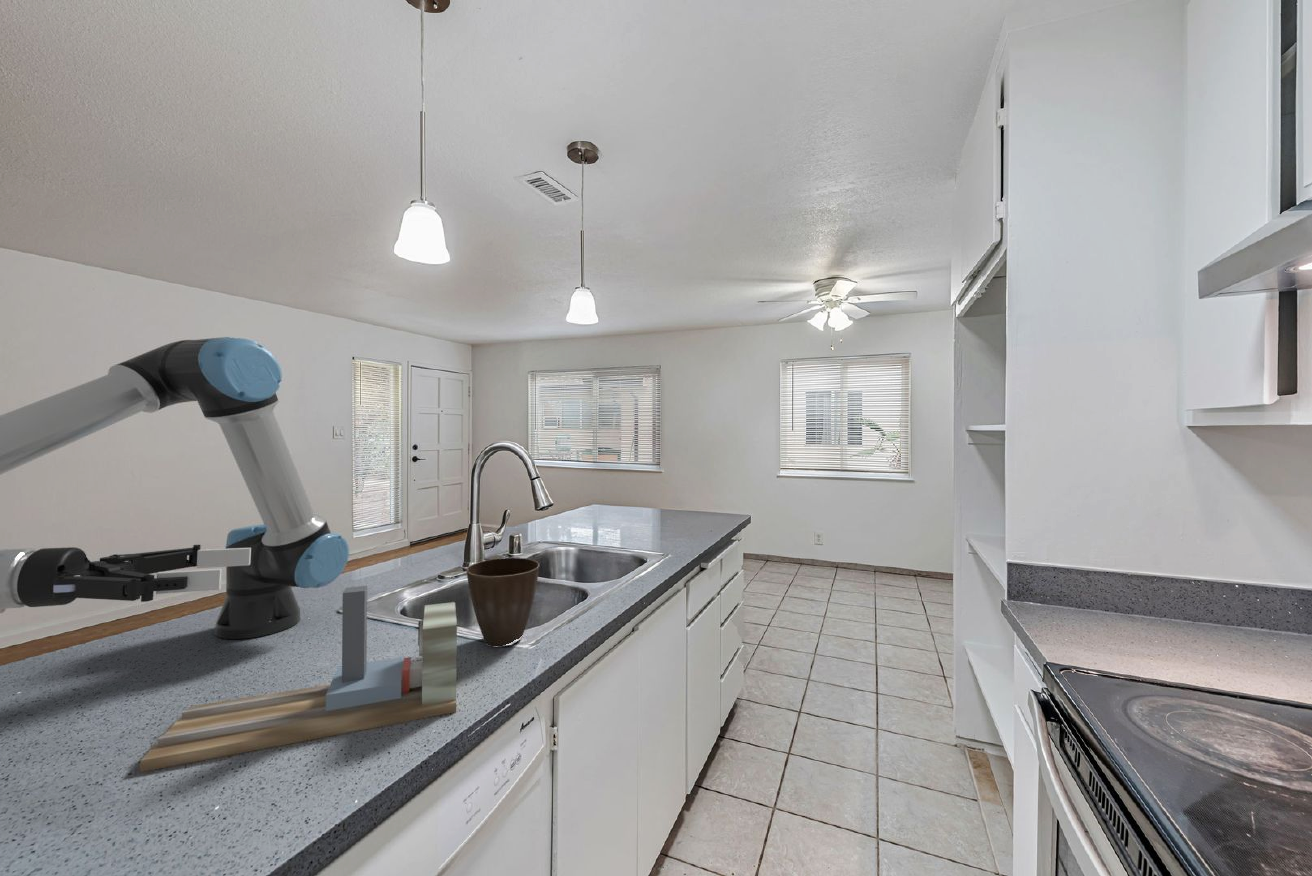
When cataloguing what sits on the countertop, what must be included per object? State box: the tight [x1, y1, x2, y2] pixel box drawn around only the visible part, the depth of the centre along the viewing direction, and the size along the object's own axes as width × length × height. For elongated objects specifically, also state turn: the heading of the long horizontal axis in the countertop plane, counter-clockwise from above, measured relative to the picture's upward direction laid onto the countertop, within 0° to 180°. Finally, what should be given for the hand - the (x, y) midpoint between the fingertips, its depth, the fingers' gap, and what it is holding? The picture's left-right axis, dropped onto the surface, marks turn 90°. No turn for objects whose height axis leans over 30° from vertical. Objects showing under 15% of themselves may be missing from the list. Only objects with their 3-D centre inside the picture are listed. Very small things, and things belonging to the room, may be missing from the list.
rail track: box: [139, 601, 458, 773], centre depth 79 cm, size 14×38×14 cm, turn 113°
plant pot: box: [465, 557, 540, 647], centre depth 108 cm, size 15×15×16 cm
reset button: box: [402, 656, 422, 694], centre depth 85 cm, size 5×7×4 cm
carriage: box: [326, 585, 406, 711], centre depth 81 cm, size 10×10×16 cm
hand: (236, 566), depth 75 cm, fingers open, 13 cm apart
